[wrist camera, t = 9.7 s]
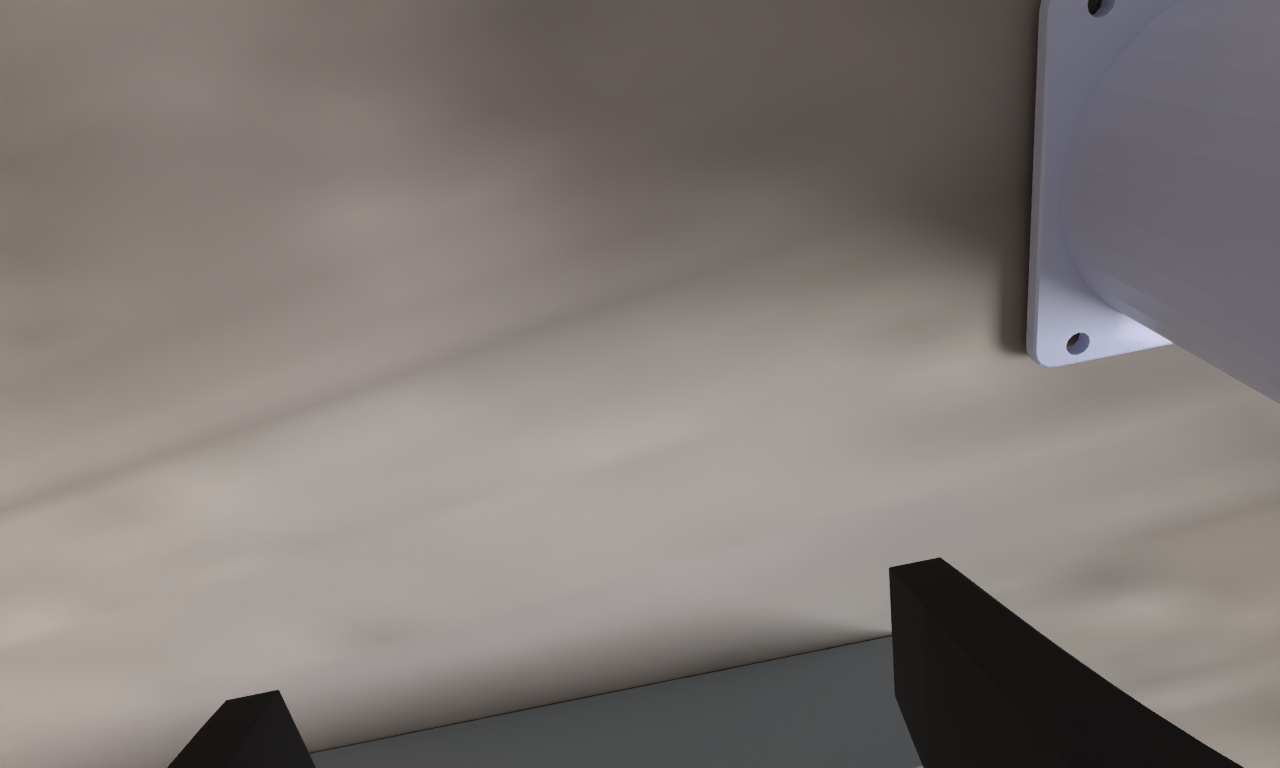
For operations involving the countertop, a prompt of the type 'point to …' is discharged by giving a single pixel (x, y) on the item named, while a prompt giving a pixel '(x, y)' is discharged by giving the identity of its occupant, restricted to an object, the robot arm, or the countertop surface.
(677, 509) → the countertop surface
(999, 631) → the robot arm
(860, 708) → the grey angular frame piece
